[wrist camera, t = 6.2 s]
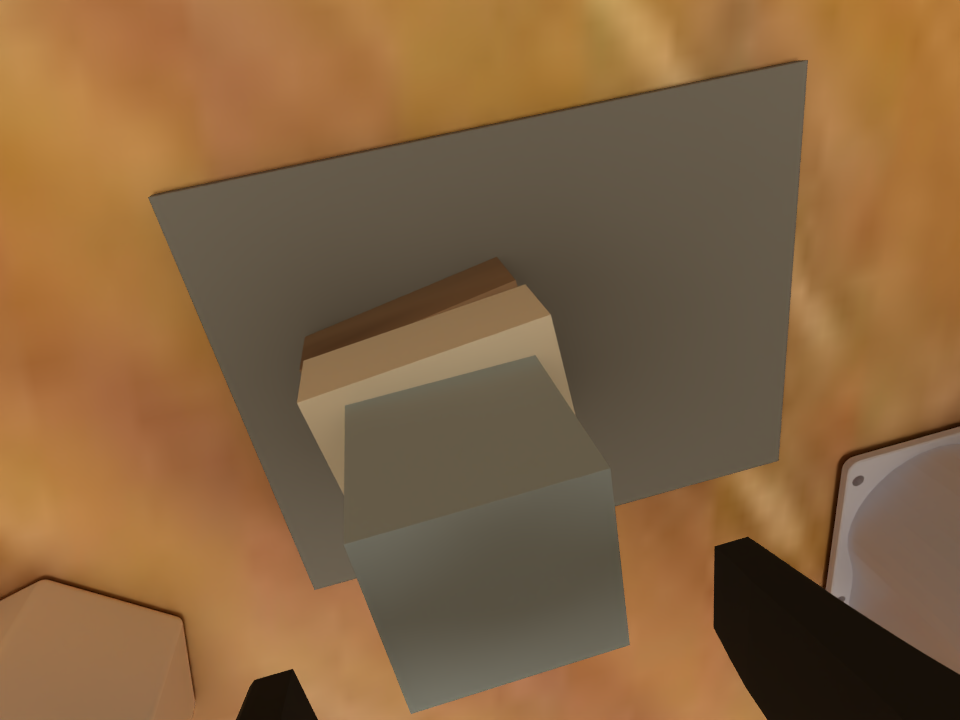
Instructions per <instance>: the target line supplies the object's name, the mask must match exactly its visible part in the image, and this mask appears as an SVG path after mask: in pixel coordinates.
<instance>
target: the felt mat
mask: <svg viewBox="0 0 960 720" xmlns="http://www.w3.org/2000/svg"><path fill="white" fill-rule="evenodd" d="M807 64H808V60H802V61H794V62H789V63H784V64H779V65H775V66H770V67H765V68H760V69H755V70H751V71H746V72H741V73H736V74H731V75H726V76H722V77H717V78H712V79H707V80H702V81H698V82H693V83H688V84H683V85H678V86H673V87H669V88H664V89H659V90H654V91H649V92H645V93H640V94H635V95H630V96H625V97H620V98H616V99H611V100H606V101H601V102H596V103H592V104H587V105H582V106H577V107H572V108H567V109H563V110H558V111H553V112H548V113H543V114H539V115H534V116H529V117H524V118H519V119H514V120H510V121H505V122H500V123H495V124H490V125H486V126H481V127H476V128H471V129H466V130H462V131H457V132H452V133H447V134H442V135H437V136H433V137H428V138H423V139H418V140H413V141H409V142H404V143H399V144H394V145H389V146H384V147H380V148H375V149H370V150H365V151H360V152H356V153H351V154H346V155H341V156H336V157H331V158H327V159H322V160H317V161H312V162H307V163H303V164H298V165H293V166H288V167H283V168H278V169H274V170H269V171H264V172H259V173H254V174H250V175H245V176H240V177H235V178H230V179H225V180H221V181H216V182H211V183H206V184H201V185H197V186H192V187H187V188H182V189H177V190H172V191H168V192H163V193H158V194H153V195H151V196H150V197H148V198H149V200H150V203H151V205H152V207H153V210H154V212H155V214H156V217H157V219H158V222H159V224H160V226H161V229H162V231H163V233H164V236H165V238H166V240H167V243H168V245H169V247H170V250H171V252H172V255H173V257H174V259H175V262H176V264H177V266H178V269H179V271H180V273H181V276H182V278H183V281H184V283H185V285H186V288H187V290H188V292H189V295H190V297H191V299H192V302H193V304H194V306H195V309H196V311H197V314H198V316H199V318H200V321H201V323H202V325H203V328H204V330H205V332H206V335H207V337H208V339H209V342H210V344H211V347H212V349H213V351H214V354H215V356H216V358H217V361H218V363H219V365H220V368H221V370H222V372H223V375H224V377H225V380H226V382H227V384H228V387H229V389H230V391H231V394H232V396H233V398H234V401H235V403H236V406H237V408H238V410H239V413H240V415H241V417H242V420H243V422H244V424H245V427H246V429H247V431H248V434H249V436H250V439H251V441H252V443H253V446H254V448H255V450H256V453H257V455H258V457H259V460H260V462H261V464H262V467H263V469H264V472H265V474H266V476H267V479H268V481H269V483H270V486H271V488H272V490H273V493H274V495H275V498H276V500H277V502H278V505H279V507H280V509H281V512H282V514H283V516H284V519H285V521H286V523H287V526H288V528H289V531H290V533H291V535H292V538H293V540H294V542H295V545H296V547H297V549H298V552H299V554H300V556H301V559H302V561H303V564H304V566H305V568H306V571H307V573H308V575H309V578H310V580H311V582H312V585H313V587H314V590H316V589H320V588H323V587H327V586H331V585H334V584H338V583H341V582H345V581H349V580H352V579H356V578H357V577H356V575H355V572H354V570H353V567H352V565H351V562H350V560H349V557H348V555H347V552H346V549H345V547H344V494H343V493H342V491H341V489H340V487H339V485H338V483H337V481H336V479H335V477H334V475H333V473H332V471H331V469H330V467H329V465H328V463H327V461H326V459H325V457H324V455H323V453H322V451H321V449H320V447H319V446H318V444H317V442H316V440H315V438H314V436H313V434H312V432H311V430H310V428H309V426H308V424H307V422H306V420H305V418H304V416H303V414H302V412H301V410H300V408H299V406H298V404H297V399H298V392H299V386H300V380H301V373H300V371H299V369H300V363H301V357H302V351H303V345H304V339H305V337H306V336H308V335H311V334H313V333H316V332H318V331H320V330H323V329H325V328H328V327H330V326H332V325H335V324H337V323H340V322H342V321H344V320H347V319H349V318H351V317H354V316H356V315H359V314H361V313H363V312H366V311H368V310H371V309H373V308H375V307H378V306H380V305H383V304H385V303H387V302H390V301H392V300H395V299H397V298H399V297H402V296H404V295H407V294H409V293H411V292H414V291H416V290H418V289H421V288H423V287H426V286H428V285H430V284H433V283H435V282H438V281H440V280H442V279H445V278H447V277H450V276H452V275H454V274H457V273H459V272H462V271H464V270H466V269H469V268H471V267H474V266H476V265H478V264H481V263H483V262H485V261H488V260H490V259H493V258H495V257H497V258H498V259H499V260H500V261H501V263H502V264H503V265H504V266H505V268H506V269H507V270H508V271H509V273H510V274H511V275H512V276H513V278H514V279H515V280H516V283H517V286H518V287H519V286H522V285H525V284H526V286H527V287H528V288H529V289H530V290H531V292H532V293H533V294H534V295H535V296H536V298H537V299H538V300H539V301H540V302H541V304H542V305H543V306H544V307H545V308H546V309H547V311H548V312H549V313H550V314H551V318H552V322H553V326H554V330H555V334H556V338H557V342H558V346H559V350H560V354H561V358H562V362H563V366H564V370H565V374H566V378H567V383H568V387H569V391H570V395H571V399H572V403H573V407H574V411H575V415H576V417H577V419H578V420H579V422H580V423H581V425H582V426H583V428H584V429H585V431H586V432H587V434H588V435H589V437H590V438H591V440H592V441H593V443H594V444H595V446H596V447H597V449H598V450H599V452H600V453H601V455H602V456H603V458H604V459H605V461H606V462H607V464H608V465H609V467H610V468H611V478H612V487H613V496H614V505H615V506H618V505H621V504H625V503H628V502H632V501H636V500H639V499H643V498H646V497H650V496H654V495H657V494H661V493H664V492H668V491H672V490H675V489H679V488H682V487H686V486H689V485H693V484H697V483H700V482H704V481H707V480H711V479H715V478H718V477H722V476H725V475H729V474H733V473H736V472H740V471H743V470H747V469H750V468H754V467H758V466H761V465H765V464H768V463H772V462H776V461H778V460H779V447H780V433H781V419H782V406H783V392H784V379H785V365H786V351H787V338H788V324H789V310H790V297H791V283H792V269H793V256H794V242H795V228H796V215H797V201H798V187H799V174H800V160H801V146H802V133H803V119H804V105H805V92H806V78H807Z"/></svg>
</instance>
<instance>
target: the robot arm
mask: <svg viewBox="0 0 960 720" xmlns="http://www.w3.org/2000/svg"><path fill="white" fill-rule="evenodd" d="M714 629H715V631H716V633H717V635H718V637H719V639H720V640H721V642H722V644H723V646H724V648H725V650H726V652H727V654H728V656H729V658H730V660H731V661H732V663H733V665H734V667H735V669H736V670H737V672H738V674H739V676H740V678H741V679H742V681H743V683H744V685H745V687H746V688H747V690H748V691H749V693H750V694H751V696H752V697H753V699H754V700H755V702H756V703H757V705H758V706H759V708H760V709H761V711H762V712H763V714H764V715H765V717H766V718H767V720H960V427H956V428H953V429H949V430H946V431H942V432H938V433H935V434H931V435H928V436H924V437H921V438H917V439H914V440H910V441H907V442H903V443H899V444H896V445H892V446H889V447H885V448H882V449H878V450H875V451H871V452H867V453H864V454H860V455H857V456H853V457H851V458H849V459H848V460H847V461H846V462H845V463H844V464H843V467H842V473H841V480H840V488H839V495H838V503H837V510H836V517H835V525H834V532H833V540H832V547H831V554H830V562H829V569H828V577H827V584H826V590H825V589H824V588H822V587H821V586H819V585H818V584H816V583H815V582H813V581H812V580H810V579H809V578H807V577H806V576H804V575H803V574H802V573H800V572H799V571H797V570H796V569H794V568H793V567H791V566H790V565H788V564H787V563H786V562H784V561H783V560H781V559H780V558H778V557H777V556H775V555H774V554H773V553H771V552H770V551H768V550H767V549H765V548H764V547H762V546H761V545H759V544H758V543H756V542H755V541H754V540H752V539H750V538H749V537H746V538H742V539H739V540H735V541H732V542H728V543H725V544H722V545H718V546H715V561H714ZM236 720H318V719H317V717H316V715H315V713H314V711H313V709H312V707H311V705H310V703H309V701H308V699H307V697H306V695H305V693H304V691H303V689H302V687H301V685H300V682H299V680H298V678H297V676H296V674H295V672H294V670H293V669H291V670H288V671H284V672H281V673H277V674H274V675H270V676H267V677H263V678H260V679H257V680H254V682H253V683H252V684H251V686H250V687H249V690H248V692H247V695H246V697H245V700H244V702H243V704H242V707H241V709H240V712H239V714H238V716H237V719H236Z"/></svg>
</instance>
